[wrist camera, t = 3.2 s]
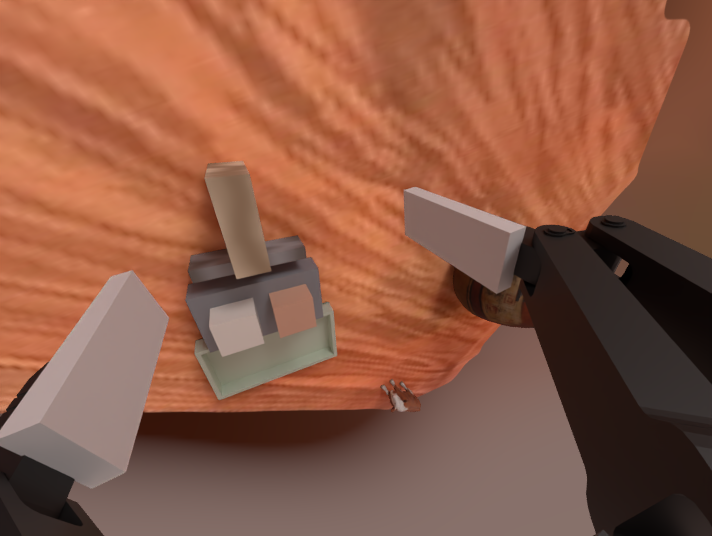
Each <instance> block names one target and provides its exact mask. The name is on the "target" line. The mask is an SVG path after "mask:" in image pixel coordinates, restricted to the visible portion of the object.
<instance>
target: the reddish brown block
mask: <svg viewBox="0 0 712 536" xmlns="http://www.w3.org/2000/svg"><path fill="white" fill-rule="evenodd" d="M269 296H270V300H271V305H272V309H273V313H274V317H275V321H276V325H277V328H278V332H279V336H280V338H282V337H286V336H289V335H292V334H295V333H298V332H301V331H304V330H307V329H310V328H313V327H316V326H317V325H316V318H315V310H314V303H313V297H312V295H311V293H310V291H309V289H308V287H307V285H306V284H303V285H299V286H295V287H292V288H288V289H284V290H280V291H276V292H272V293H269Z"/></svg>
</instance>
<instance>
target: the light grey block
mask: <svg viewBox="0 0 712 536" xmlns="http://www.w3.org/2000/svg"><path fill="white" fill-rule="evenodd" d="M209 328H210V330H211V333H212V335H213V337H214V340H215V342H216V344H217V346H218V349H219V351H220V353H221V355H222V357H224V356H227V355H230V354H233V353H236V352H239V351H242V350H246V349H249V348H252V347H255V346H258V345H261V344H264V338H263V333H262V328H261V324H260V320H259V317H258V313H257V310H256V307H255V303H254V300H253V298H249V299H245V300H241V301H238V302H234V303H230V304H226V305H222V306H218V307H215V308H211V309H210V320H209Z"/></svg>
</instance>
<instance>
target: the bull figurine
mask: <svg viewBox="0 0 712 536" xmlns="http://www.w3.org/2000/svg"><path fill="white" fill-rule="evenodd" d="M390 383H391V384H392V385H393V387H394V389H395V391H393V390H391V391H390V392H389V391H388V390H387V389H386V387H385V385H382V386H381V388H382V389H384V390H385V391H386V394H387V395H388V396H389V399H390V402H391V404H392V406H393V408H392V409H391V412H394V411H395V410H398V411H400V412H402V411H409V412H416V411H420V407H421V404H420V402H419V400H418V399H417V397H416V396H415V395H413V393H412V391H411V390H409V389H408V388H406V386H405V384H404V383H403V382H400V385H401V386H402V387H404V388H405V390H406V391H401V390H400V389H399V388H397V386H396V385H395V382H394V381H393V379H391V380H390Z"/></svg>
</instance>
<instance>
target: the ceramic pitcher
mask: <svg viewBox="0 0 712 536" xmlns="http://www.w3.org/2000/svg"><path fill="white" fill-rule="evenodd" d="M523 226H524V225H523ZM526 227H528V226H526ZM529 228H531V227H529ZM532 229H533V228H532ZM520 280H521V278H519V277H517V276H515V275H514V276H513V280H512V283H511V287H510V288H508V289H506V290H504V291H502V292H499V293H497V294H496V293H495V292H493V291H491V290H490V289H488V288H487V287H485V286H484V285H482V284H481V283H479V282H477V281H476V280H474V279H473V278H471V277H470V276H468V275H467V274H465V273H464V272H462V271H460V270H459V269H457V268H456V267H455V269H454V275H453V284H454V291H455V294H456V296H457V298H458V299H459V301H460V302H461V303H462V305H463V306H464V307H465V308H466V309H467V310H468V311H470V312H471V313H472V314H474V315H476V316H478V317H480V318H482V319H485V320H488V321H491V322H494V323H498V324H501V325H506V326H510V327H521V328H534V325H533V323H532V320H531V317H530V314H529V312H528V309H527V306H526V303H525V302H523V299H524V298H523V295H522V296H521V297H520V298H519V301H516V294H517V291H518V287H519V284H520Z"/></svg>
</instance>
